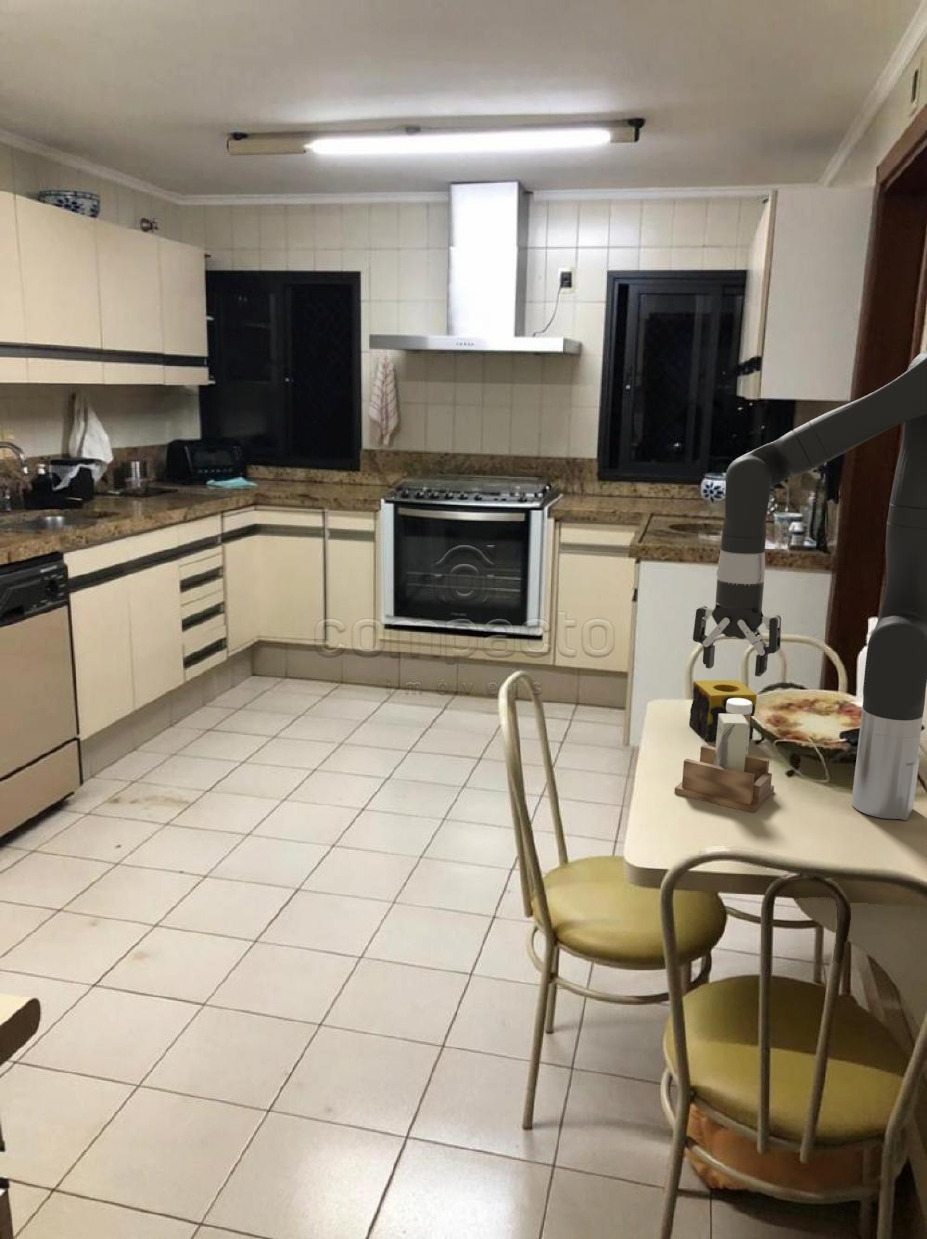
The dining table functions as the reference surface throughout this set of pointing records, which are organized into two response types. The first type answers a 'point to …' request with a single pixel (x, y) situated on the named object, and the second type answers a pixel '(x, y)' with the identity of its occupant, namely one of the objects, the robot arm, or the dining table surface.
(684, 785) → the rack
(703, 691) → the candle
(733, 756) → the box
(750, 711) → the sprinkles bottle
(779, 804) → the dining table surface
